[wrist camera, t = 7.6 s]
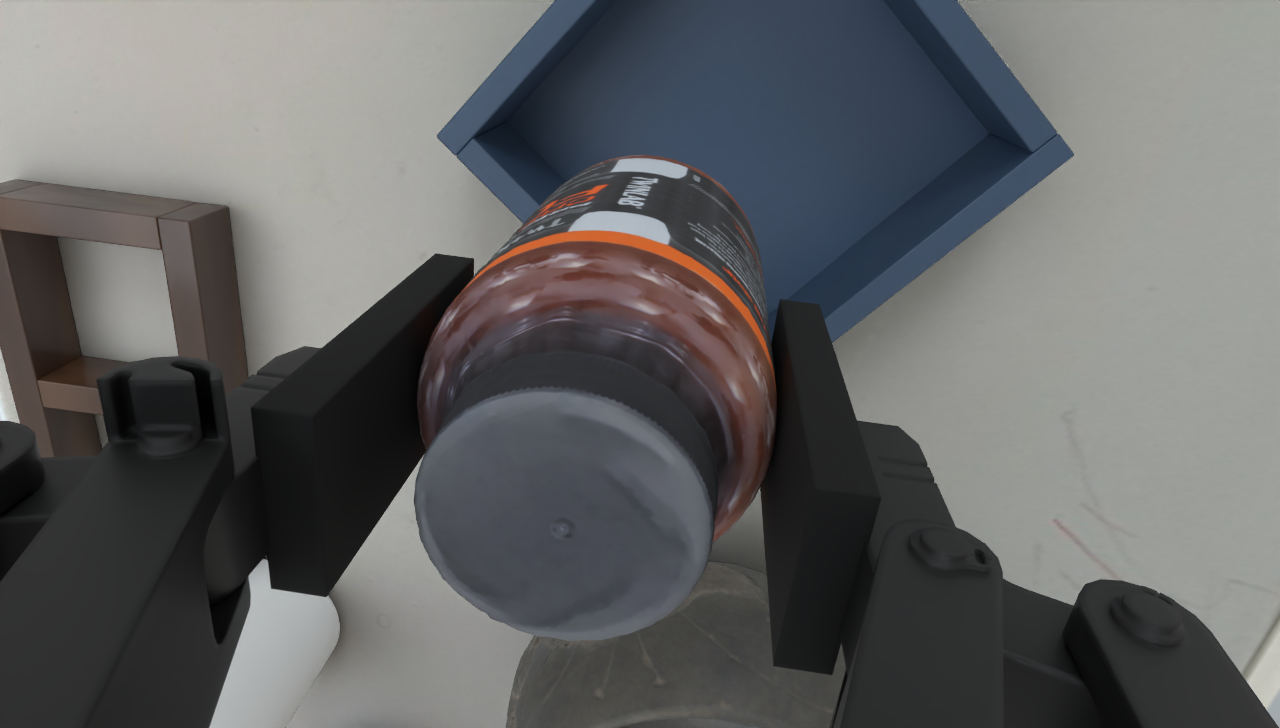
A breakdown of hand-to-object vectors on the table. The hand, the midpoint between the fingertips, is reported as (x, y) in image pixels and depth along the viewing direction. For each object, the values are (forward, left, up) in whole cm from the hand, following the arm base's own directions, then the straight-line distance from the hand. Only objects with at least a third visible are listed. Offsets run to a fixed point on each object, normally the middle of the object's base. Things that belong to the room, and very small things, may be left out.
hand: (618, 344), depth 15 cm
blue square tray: (+1, +3, -20) cm, 21 cm away
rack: (-11, -27, -20) cm, 36 cm away
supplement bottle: (0, 0, -6) cm, 6 cm away
